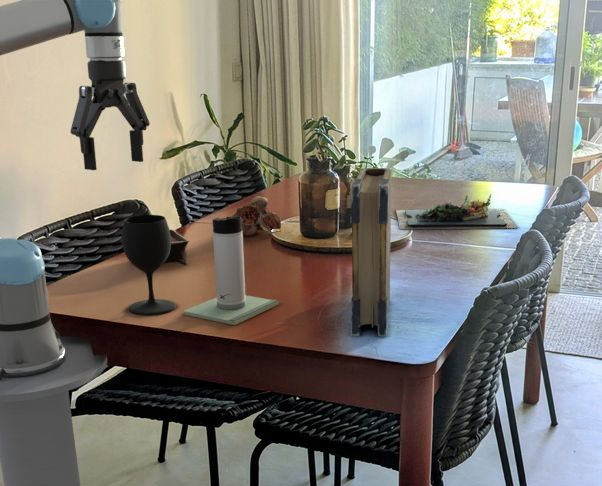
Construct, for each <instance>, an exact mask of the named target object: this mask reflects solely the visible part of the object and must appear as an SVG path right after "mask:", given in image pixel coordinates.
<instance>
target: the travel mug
mask: <svg viewBox="0 0 602 486" xmlns="http://www.w3.org/2000/svg"><path fill="white" fill-rule="evenodd" d="M241 226H242V217H233V216H226V217H223V218H220V217H216V218H212V239H213V240H212V241H213V256H214V257H213V258H214V273H215V291H216V292H215V293H216V297H217V306H218V307H219V308H221V309H225V310H235V309H240V308H242V307H244V306H245V305H246V299H245V295H246V280H245V278H246V277H245V257H244V235H243V234H242V227H241Z"/></svg>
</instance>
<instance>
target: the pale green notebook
mask: <svg viewBox="0 0 602 486" xmlns="http://www.w3.org/2000/svg"><path fill="white" fill-rule="evenodd" d="M245 299H246V305H245V306H244V307H242V308H240V309H235V310H225V309H221V308H219V307H218V306H217V296H216V297H214V298H211V299H209V300H207V301H204V302H202V303H199V304H197V305H195V306H192V307H190V308H187V309H185V310H183V311H182V312H183V314H182V315H184V316H188V317H193V318H197V319H203V320H207V321H211V322H218V323H222V324H228V325H230V326H231V325H232V326H236V325H239V324H240V323H242V322H245V321H247V320H250V319H251V318H253V317H255V316H258V315H260V314H262V313H264V312H266V311H269V310H270V309H272V308H275V307H277V306H279V305H280V304H279V302H280V301H279V300H278V299H268V298H262V297H258V296H252V295H248V294H247V295H246V294H245Z"/></svg>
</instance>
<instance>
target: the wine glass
mask: <svg viewBox="0 0 602 486" xmlns="http://www.w3.org/2000/svg"><path fill="white" fill-rule="evenodd" d="M121 230H122V231H121V244H122V249H123V252H124V255H125V256H126V258H127V260H128V261H129V262H130V263H131V264H132V265H133V266H134V267H135V268H137V269H138V270H139V271H140V272H143V273H144V274H145V276H146V280H147V286H148V299H145V300H140V301H137V302H134V303H132V304H131V305H129V306H128V311H129V312H130V313H132V314H134V315H139V316H158V315H163V314H168V313H170V312H172V311H174V310H175V309H176V306H177V305H176V303H175V302H174V301H172V300H169V299H161V298H156V297H155V294H154V285H153V283H154V281H153V278H154V273H155V272H156V271H157V270H158V269H160V268H161V267H162V265H164V263H166V262H165V261H166V259H167V257H168V255H169V253H170V249H171V235H170V230H171V229H170V227H169V225H168V222H167V219H166V217H165V215H164V216H163V215H161V214H139V215H138V214H137V215H133V216H129V217H126V218H125V219H124V220H123V224H122V229H121Z"/></svg>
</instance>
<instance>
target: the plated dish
mask: <svg viewBox="0 0 602 486" xmlns="http://www.w3.org/2000/svg"><path fill="white" fill-rule="evenodd" d="M491 198H492V193H490V195H489V196H488V198H487V200H486V202H485V201H484V199H483V200H479V199H477V200H475V199H474V200H468V194H467V195H466V196H465V199H464V202H463V203H462V204H459V206H458V205H454V204H452V202H449V203H448V202H445V203H443V204H436V205H433V207H432V208H430V207H428V208H426V209H395V213H396V217H397V221H398V226H399V230H457V229H458V230H459V229H460V230H461V229H462V230H463V229H470V230H471V229H473V230H475V229H518V227H517V225H516V224H515V223H514V222H513V220H512V219H511V218H510V217H509V215H508V214H507V212H506V211H505V210H504V209H501V208H499V209H495V208H494V209H491V208H490V209H489V206H490V205H491Z"/></svg>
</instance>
